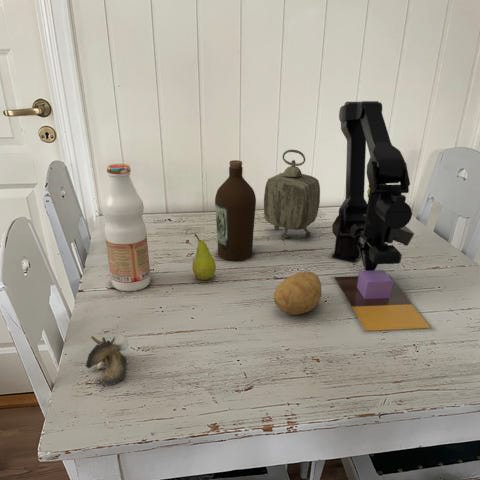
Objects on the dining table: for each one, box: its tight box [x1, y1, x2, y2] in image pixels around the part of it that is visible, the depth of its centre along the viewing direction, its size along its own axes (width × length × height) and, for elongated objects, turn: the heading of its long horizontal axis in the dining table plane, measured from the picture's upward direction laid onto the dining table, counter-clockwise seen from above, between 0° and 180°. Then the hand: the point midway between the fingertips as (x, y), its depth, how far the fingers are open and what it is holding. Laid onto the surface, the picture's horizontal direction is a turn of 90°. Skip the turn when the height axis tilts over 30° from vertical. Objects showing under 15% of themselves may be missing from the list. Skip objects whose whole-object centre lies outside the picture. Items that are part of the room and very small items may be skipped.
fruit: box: [191, 233, 217, 281], centre depth 118 cm, size 6×6×12 cm
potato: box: [273, 270, 323, 316], centre depth 107 cm, size 10×14×8 cm
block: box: [357, 269, 394, 299], centre depth 115 cm, size 6×6×4 cm
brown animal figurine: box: [85, 334, 128, 387], centre depth 88 cm, size 8×7×9 cm
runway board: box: [334, 275, 412, 308], centre depth 117 cm, size 15×14×1 cm
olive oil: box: [214, 159, 257, 262], centre depth 128 cm, size 11×11×25 cm
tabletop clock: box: [263, 149, 321, 239], centre depth 140 cm, size 14×9×25 cm, turn 58°
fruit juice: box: [101, 163, 151, 292], centre depth 111 cm, size 9×9×28 cm
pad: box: [351, 303, 431, 332], centre depth 106 cm, size 10×14×1 cm
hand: (368, 275), depth 118 cm, fingers closed
